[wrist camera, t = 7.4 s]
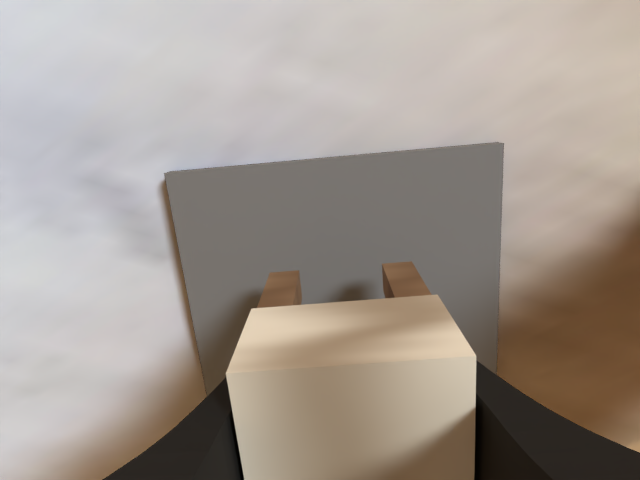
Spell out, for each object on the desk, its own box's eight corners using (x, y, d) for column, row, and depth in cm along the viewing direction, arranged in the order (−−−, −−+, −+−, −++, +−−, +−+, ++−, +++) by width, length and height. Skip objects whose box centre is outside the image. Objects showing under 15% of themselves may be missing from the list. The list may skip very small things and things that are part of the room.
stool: (414, 258, 14) (476, 356, 8) (418, 386, 15) (473, 547, 10) (266, 270, 14) (225, 373, 8) (283, 395, 16) (258, 558, 10)
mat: (496, 142, 15) (503, 143, 15) (489, 420, 18) (494, 430, 18) (170, 171, 16) (164, 173, 15) (220, 438, 19) (217, 448, 18)
